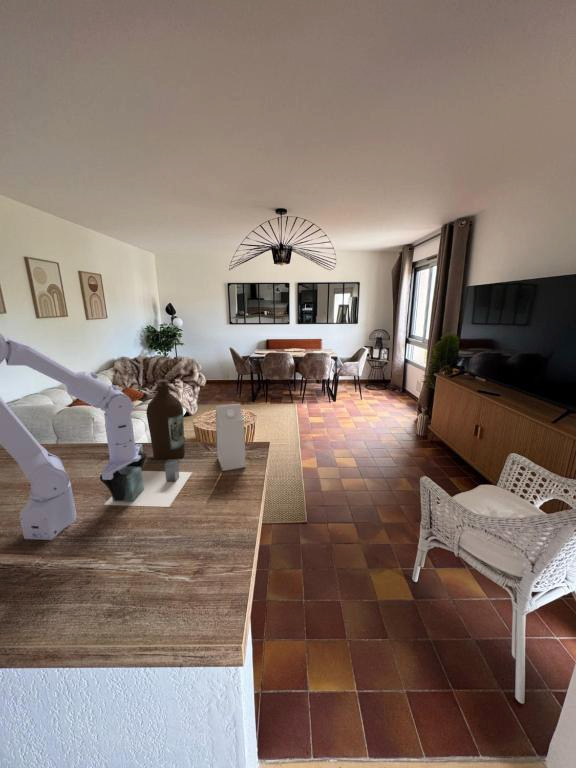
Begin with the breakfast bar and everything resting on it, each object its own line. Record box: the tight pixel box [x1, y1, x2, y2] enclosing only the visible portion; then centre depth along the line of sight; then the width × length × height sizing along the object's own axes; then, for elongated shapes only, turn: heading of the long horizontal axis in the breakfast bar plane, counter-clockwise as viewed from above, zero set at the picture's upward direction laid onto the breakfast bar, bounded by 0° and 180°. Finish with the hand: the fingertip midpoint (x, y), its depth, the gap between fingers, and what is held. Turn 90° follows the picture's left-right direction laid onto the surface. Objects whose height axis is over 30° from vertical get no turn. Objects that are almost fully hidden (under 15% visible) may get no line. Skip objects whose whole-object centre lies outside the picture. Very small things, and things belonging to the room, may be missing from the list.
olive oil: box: [145, 379, 186, 461], centre depth 101 cm, size 11×11×25 cm
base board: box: [103, 470, 193, 508], centre depth 85 cm, size 16×16×1 cm
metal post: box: [164, 459, 180, 482], centre depth 88 cm, size 3×3×5 cm
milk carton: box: [214, 403, 246, 472], centre depth 97 cm, size 7×7×19 cm
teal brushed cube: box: [111, 466, 144, 502], centre depth 81 cm, size 5×5×7 cm
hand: (128, 490), depth 81 cm, fingers open, 7 cm apart
